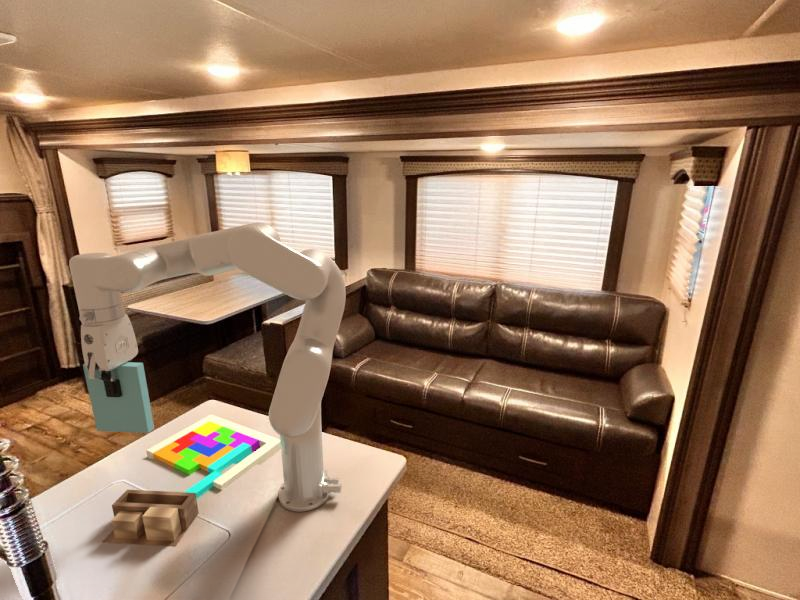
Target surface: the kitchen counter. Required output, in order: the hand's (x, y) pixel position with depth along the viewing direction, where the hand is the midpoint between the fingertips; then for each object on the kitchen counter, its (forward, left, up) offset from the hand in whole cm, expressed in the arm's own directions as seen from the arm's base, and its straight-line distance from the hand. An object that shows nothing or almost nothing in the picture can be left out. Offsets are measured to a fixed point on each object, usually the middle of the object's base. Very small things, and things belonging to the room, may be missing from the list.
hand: (118, 393), depth 91 cm
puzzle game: (-6, -16, -30) cm, 35 cm away
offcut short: (-4, +10, -28) cm, 30 cm away
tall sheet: (0, 0, -9) cm, 9 cm away
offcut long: (-12, +10, -28) cm, 32 cm away
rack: (-8, +8, -29) cm, 31 cm away
